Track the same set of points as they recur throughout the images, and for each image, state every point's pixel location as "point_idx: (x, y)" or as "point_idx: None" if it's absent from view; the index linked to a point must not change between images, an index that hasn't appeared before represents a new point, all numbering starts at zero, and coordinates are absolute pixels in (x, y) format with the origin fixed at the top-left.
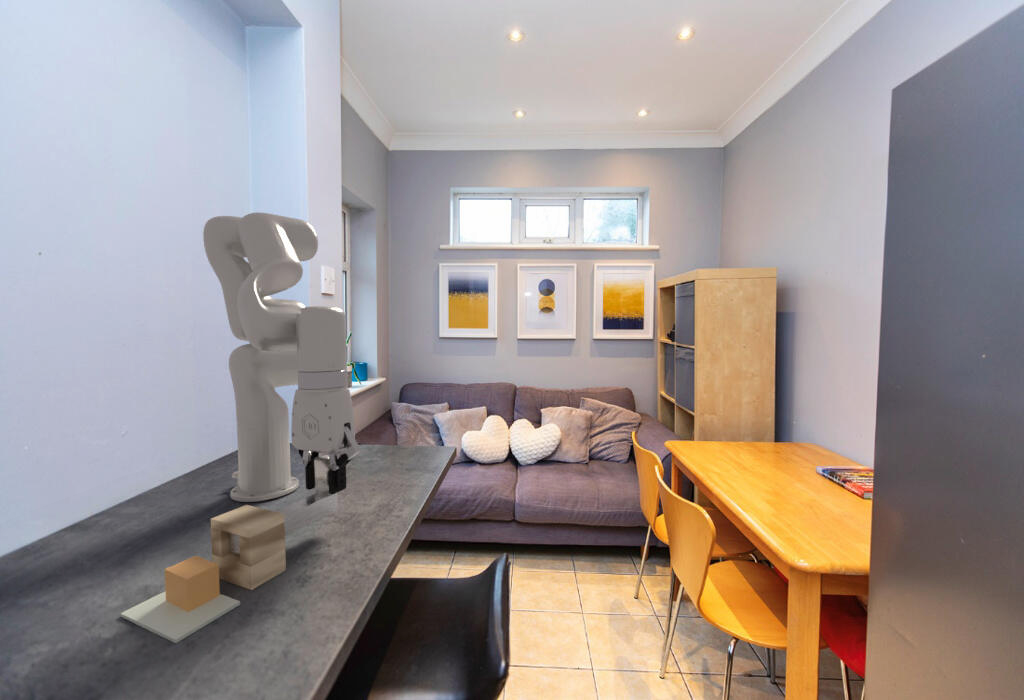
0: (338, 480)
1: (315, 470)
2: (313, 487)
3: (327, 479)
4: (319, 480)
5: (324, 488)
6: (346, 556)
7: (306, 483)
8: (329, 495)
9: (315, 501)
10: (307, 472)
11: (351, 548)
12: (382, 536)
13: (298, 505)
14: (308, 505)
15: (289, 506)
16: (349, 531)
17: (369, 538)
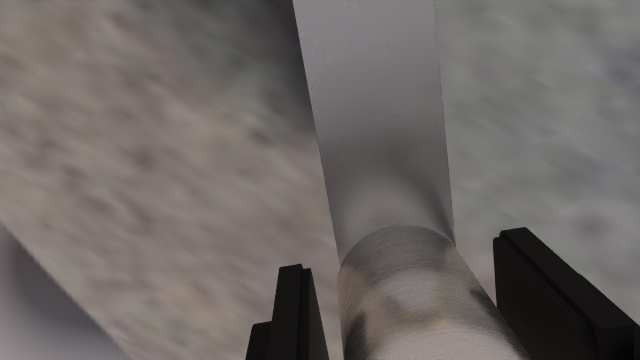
0: (247, 356)
1: (468, 330)
2: (494, 264)
3: (350, 327)
4: (397, 287)
5: (358, 273)
6: (123, 125)
7: (535, 244)
8: (339, 270)
9: (334, 174)
10: (570, 295)
11: (165, 171)
12: (154, 287)
13: (371, 76)
14: (313, 114)
15: (408, 30)
16: (297, 247)
17: (180, 253)
